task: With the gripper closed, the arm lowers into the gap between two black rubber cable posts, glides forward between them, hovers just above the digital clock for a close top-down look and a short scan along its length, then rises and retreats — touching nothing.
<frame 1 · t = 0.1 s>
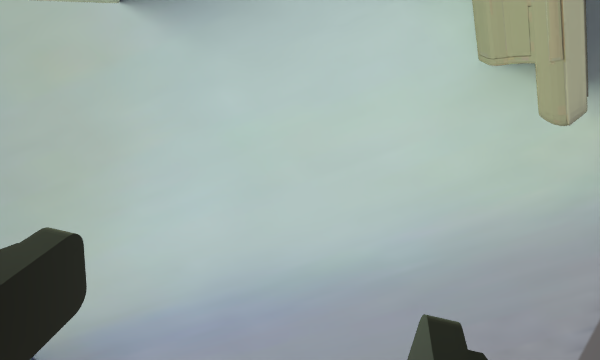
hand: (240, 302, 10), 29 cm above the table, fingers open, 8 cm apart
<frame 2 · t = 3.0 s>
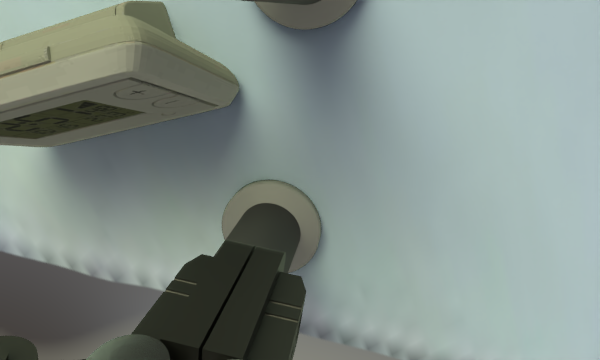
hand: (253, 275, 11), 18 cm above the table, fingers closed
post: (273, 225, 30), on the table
digital clock: (130, 83, 29), on the table
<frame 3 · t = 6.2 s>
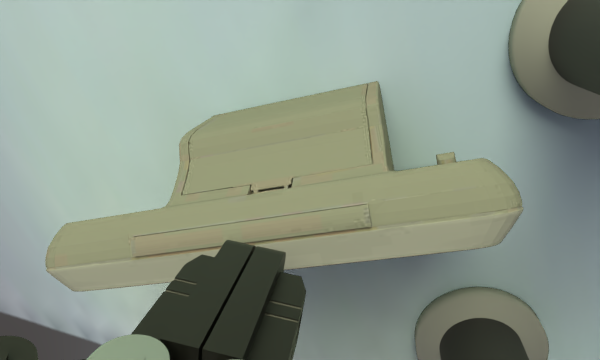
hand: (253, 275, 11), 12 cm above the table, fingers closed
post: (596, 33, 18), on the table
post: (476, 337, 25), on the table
digital clock: (310, 172, 23), on the table
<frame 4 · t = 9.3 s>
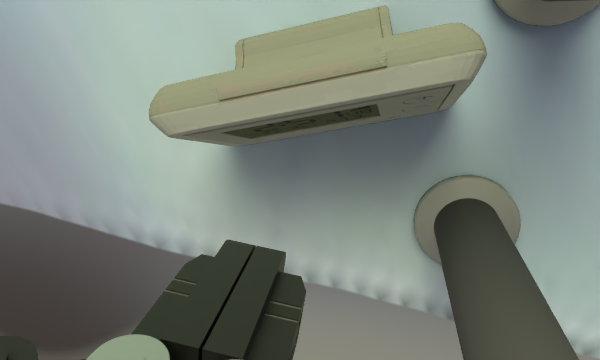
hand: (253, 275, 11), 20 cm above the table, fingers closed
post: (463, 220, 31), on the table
digital clock: (330, 84, 29), on the table
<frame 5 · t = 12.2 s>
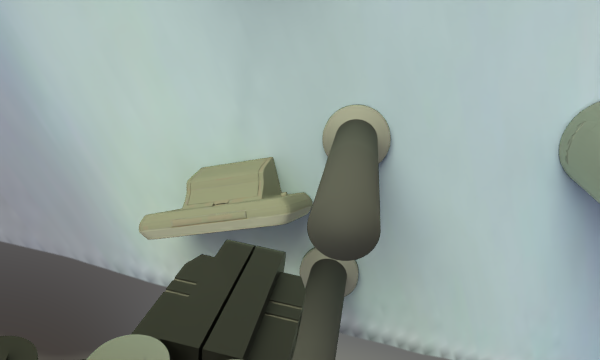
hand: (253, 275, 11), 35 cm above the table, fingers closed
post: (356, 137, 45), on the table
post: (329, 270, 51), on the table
digital clock: (246, 194, 50), on the table
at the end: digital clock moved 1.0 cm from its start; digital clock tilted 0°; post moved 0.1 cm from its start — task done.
